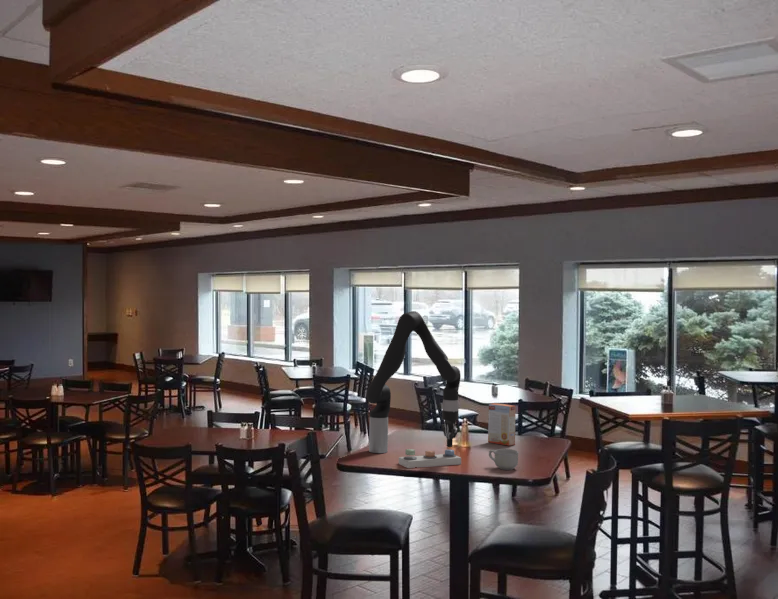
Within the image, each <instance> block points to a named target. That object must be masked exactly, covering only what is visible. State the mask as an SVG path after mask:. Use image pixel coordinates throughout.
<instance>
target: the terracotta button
mask: <svg viewBox="0 0 778 599" xmlns="http://www.w3.org/2000/svg"><path fill="white" fill-rule="evenodd" d="M424 455H425V456H426V457H435V455H436V452H435V450H426V451H425V454H424Z"/></svg>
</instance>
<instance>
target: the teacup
mask: <svg viewBox="0 0 778 599" xmlns="http://www.w3.org/2000/svg"><path fill="white" fill-rule="evenodd" d="M492 453H493V454H494V457H493V455H492ZM488 456H489V458H490V459H491V460H492V461H493V463H494V464H495V466H496V467H497V468H498V469H500V470H501V471H502V470H503V471H513V470H514V469H515V468H516V467H517V466H518V465H519V451H518V450H516V449H512V448H499V449H498V448H497V449H491V450H489V451H488Z"/></svg>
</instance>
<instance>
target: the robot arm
mask: <svg viewBox="0 0 778 599" xmlns="http://www.w3.org/2000/svg"><path fill="white" fill-rule="evenodd" d="M412 332H415V333H416V334H417V335H418V337H419V339H420V340H421V342H422V346H423V348H424V352H425V353H426V355H427V356H428V358H429V360H430V361H431V362H432V363H433V364H434V366H435V367H436V370H437V371H438V373H439V375H440V377H441V378H442V379H443V380H444V381H445V387H443V390H442V391H443V392H442V394H443V395H442V396H443V397H442V409H441V410H442V411H441V412H442V413H441V419H442V420H443V421H444V424H441V428H442V432H443V435H444V437H445V438H446V447H448V448H452V447H453V439H455V438H457V435H458V433H459V431H460V430H459V428H457V427H456V426H457V423H456V421H458V420H459V388H460V383H461V371H460V369H459V368H458V367H457V366H455V365H451V363H450V362H449V360H448V359H449V358H448V356H447V353H445V351H444V350H443V349H442V348H441V347H440V345H439V343H438V342H437V341H436V339H435V338H434V336H433V335H432V333H431V331H430V329H429V327H428V326H427V323H426V322H425V320H424V318H423V317H422V315H421V313H419V312H418V311H416V310H415V311H413V310H412V311H411V310H410V311H408V312H405V313H403V314H401V316H399V318H398V321H397V323H396V327H395V331H394V332H393V333H394V334H393V335H392V338H391V341H390V342H389V344H388V347H387V349H386V351H385V352H384V356H383V358H382V361H381V363H380V365H379V367H378V369H377V371H376V374H375V375H374V377H373V379H372V380H371V382H370V384H369V385H368V388H367V389H366V390H367V391H366V394H365V395H366V399H367V402H369V403H370V404H373V405H374V404H376V405H375V406H374V408H373V409H371V410H370V411H369V426H368V428H369V436H368V437H369V438H368V440H369V441H368V443H369V444H368V448H369V449H368V451H369V452H370V453H371V454H386V453H388V450H389V449H388V447H389V445H388V444H389V414H390V410H391V401H392V400H391V399H392V398H391V397H392V394H391V389H390V386H388V384H386V383H387V382H388V381H389V380H390V379H391V378H392V377H393V376H394V375H395V374H396V373H397V372H398V370H400V368H401V366H402V364H403V361H404V359H405V357H406V344H407V341H408V339H409V337H410V335H411V334H412Z"/></svg>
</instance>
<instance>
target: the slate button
mask: <svg viewBox="0 0 778 599" xmlns="http://www.w3.org/2000/svg"><path fill="white" fill-rule="evenodd" d="M444 454H445V455H447V456H453V455H454V454H455V450H454V449H445V450H444Z"/></svg>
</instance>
